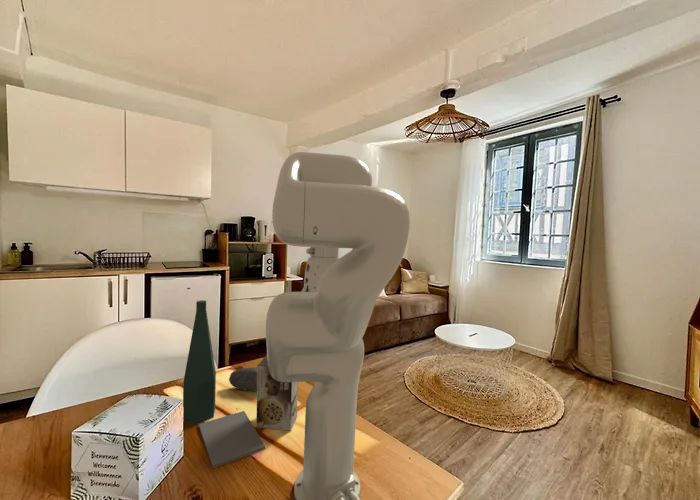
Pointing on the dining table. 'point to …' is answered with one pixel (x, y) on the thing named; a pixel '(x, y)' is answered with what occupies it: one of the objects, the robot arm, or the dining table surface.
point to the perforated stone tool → (244, 378)
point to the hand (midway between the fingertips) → (321, 319)
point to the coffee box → (275, 400)
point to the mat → (230, 438)
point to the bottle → (199, 372)
